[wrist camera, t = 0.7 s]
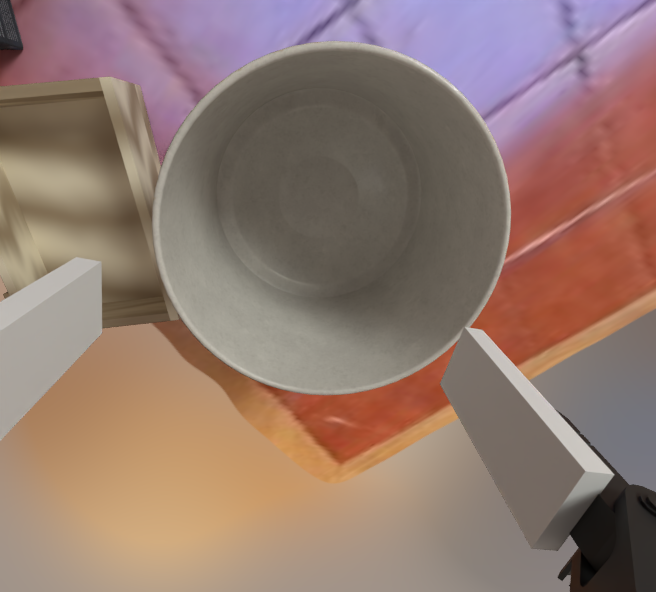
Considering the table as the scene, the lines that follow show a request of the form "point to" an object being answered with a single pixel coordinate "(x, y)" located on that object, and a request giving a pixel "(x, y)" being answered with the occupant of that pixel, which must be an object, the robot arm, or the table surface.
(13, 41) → the box
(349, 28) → the table surface
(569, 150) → the table surface
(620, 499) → the robot arm
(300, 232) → the planter
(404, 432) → the table surface
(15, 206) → the crate
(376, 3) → the table surface
